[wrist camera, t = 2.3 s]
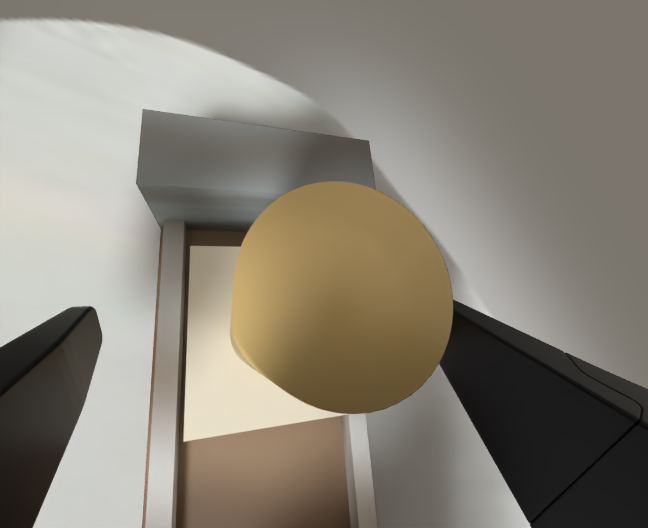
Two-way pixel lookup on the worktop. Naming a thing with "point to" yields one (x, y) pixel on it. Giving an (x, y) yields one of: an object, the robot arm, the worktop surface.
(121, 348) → the worktop surface
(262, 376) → the rail carriage
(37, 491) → the robot arm
